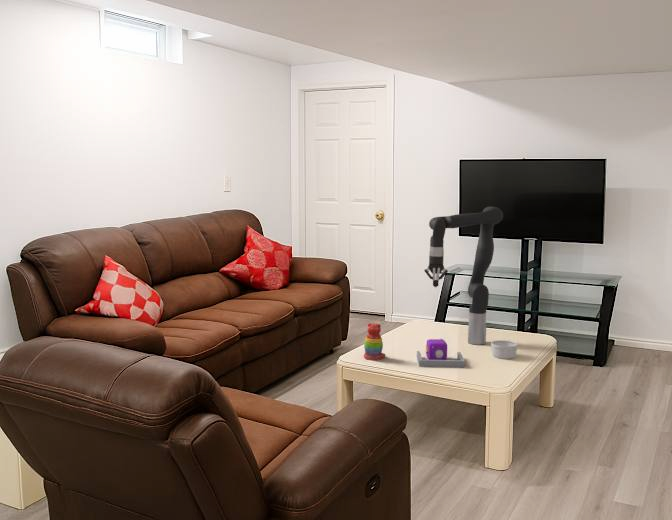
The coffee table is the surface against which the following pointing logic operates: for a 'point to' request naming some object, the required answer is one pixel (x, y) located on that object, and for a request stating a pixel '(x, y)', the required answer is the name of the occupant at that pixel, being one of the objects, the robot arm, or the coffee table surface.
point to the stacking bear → (373, 343)
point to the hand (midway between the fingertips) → (435, 286)
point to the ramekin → (504, 349)
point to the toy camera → (436, 349)
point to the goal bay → (441, 361)
